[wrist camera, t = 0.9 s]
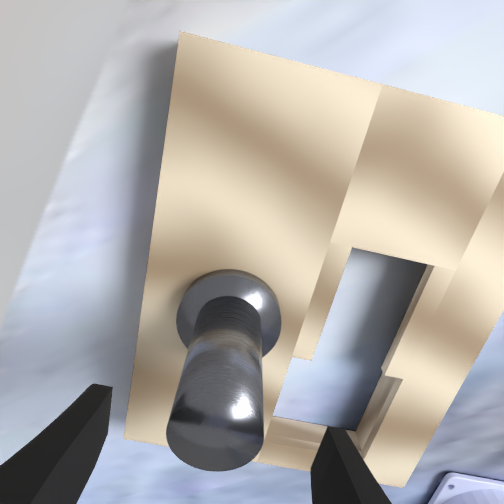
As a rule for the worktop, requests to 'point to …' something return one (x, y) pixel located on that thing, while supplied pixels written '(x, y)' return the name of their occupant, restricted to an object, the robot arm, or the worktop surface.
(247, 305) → the peg
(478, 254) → the keyhole board
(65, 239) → the worktop surface
